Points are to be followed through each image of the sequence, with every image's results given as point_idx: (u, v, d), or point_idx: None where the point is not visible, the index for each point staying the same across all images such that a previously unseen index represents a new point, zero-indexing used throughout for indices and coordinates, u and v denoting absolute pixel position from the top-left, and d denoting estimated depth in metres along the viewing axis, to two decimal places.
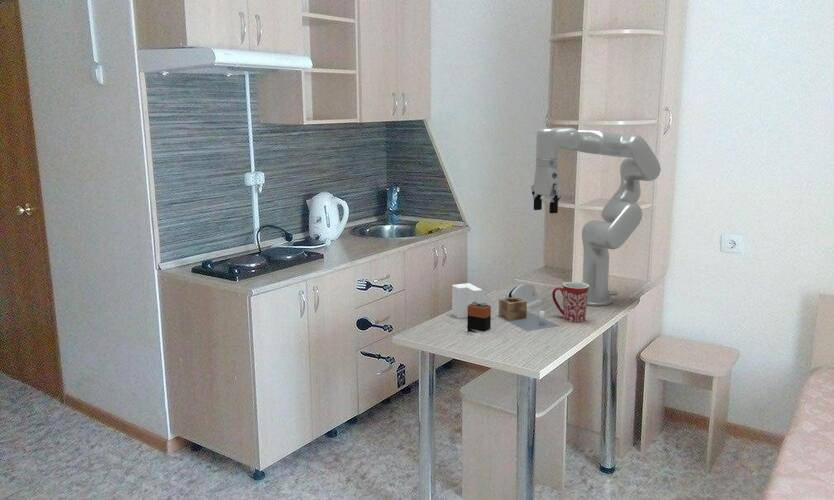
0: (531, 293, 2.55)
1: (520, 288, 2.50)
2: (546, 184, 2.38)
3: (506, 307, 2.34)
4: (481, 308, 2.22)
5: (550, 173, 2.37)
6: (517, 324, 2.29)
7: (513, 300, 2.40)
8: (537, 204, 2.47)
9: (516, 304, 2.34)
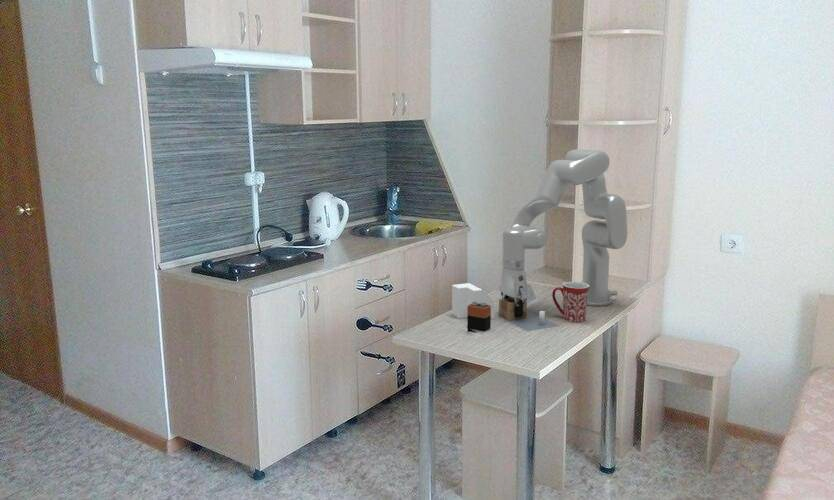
0: (529, 293, 2.55)
1: None
2: (512, 286, 2.32)
3: (506, 307, 2.34)
4: (481, 308, 2.22)
5: (516, 276, 2.31)
6: (517, 324, 2.29)
7: (513, 300, 2.40)
8: None
9: None
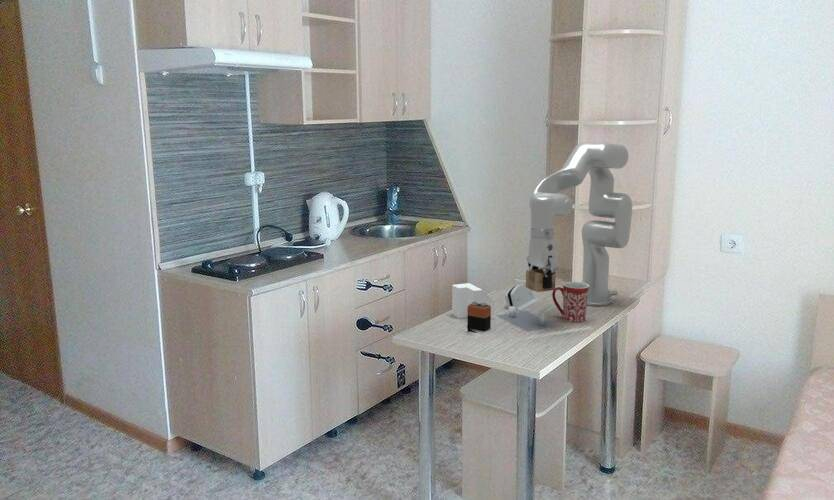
0: (528, 293, 2.55)
1: (518, 288, 2.50)
2: (541, 256, 2.21)
3: (534, 278, 2.24)
4: (481, 308, 2.22)
5: (545, 245, 2.20)
6: (517, 324, 2.29)
7: (541, 271, 2.29)
8: None
9: None
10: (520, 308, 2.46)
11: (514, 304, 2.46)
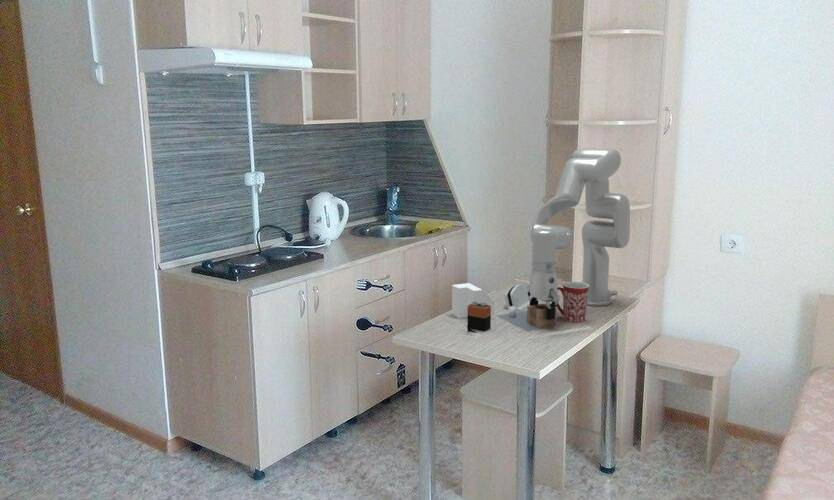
0: (527, 293, 2.55)
1: (517, 288, 2.50)
2: (543, 289, 2.23)
3: (536, 314, 2.25)
4: (481, 308, 2.22)
5: (547, 278, 2.21)
6: (517, 324, 2.29)
7: (542, 307, 2.31)
8: None
9: None
10: (520, 308, 2.46)
11: (514, 304, 2.46)
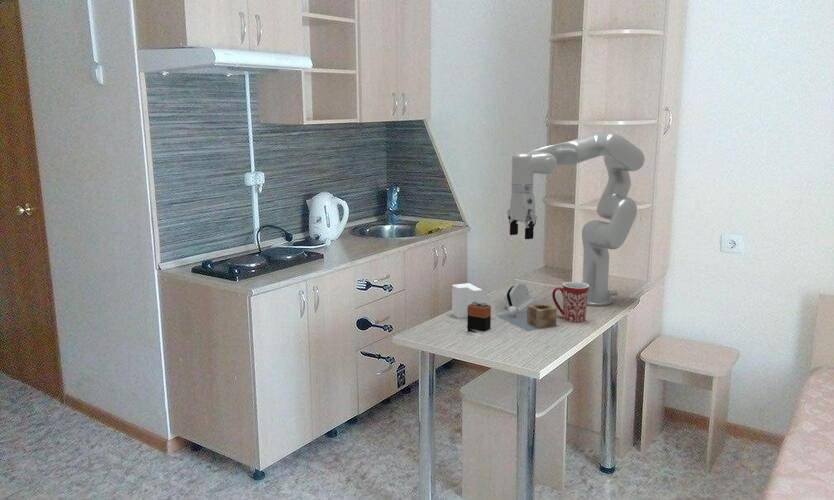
0: (525, 293, 2.55)
1: (516, 288, 2.50)
2: (521, 210, 2.35)
3: (536, 314, 2.25)
4: (481, 308, 2.22)
5: (525, 199, 2.34)
6: (517, 324, 2.29)
7: (542, 307, 2.31)
8: (513, 229, 2.45)
9: (546, 311, 2.25)
10: (519, 308, 2.46)
11: (514, 304, 2.45)
